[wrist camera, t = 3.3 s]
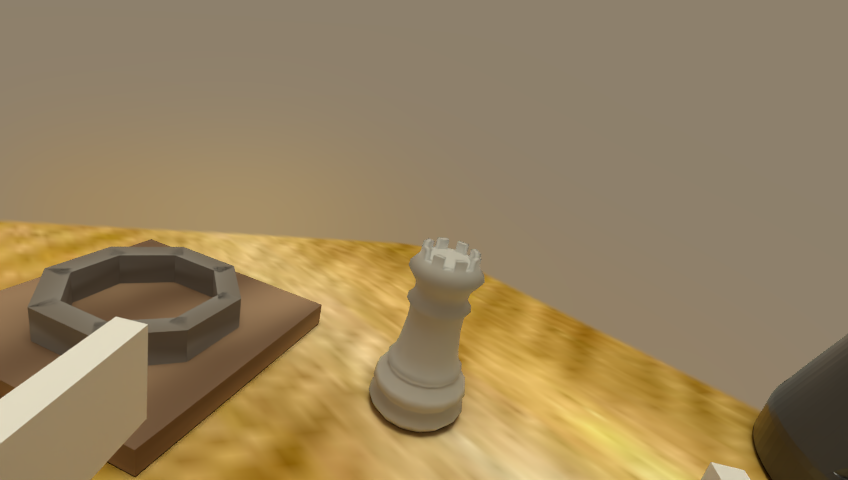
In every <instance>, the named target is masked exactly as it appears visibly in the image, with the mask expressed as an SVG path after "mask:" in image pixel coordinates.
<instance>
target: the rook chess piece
mask: <svg viewBox="0 0 848 480" xmlns="http://www.w3.org/2000/svg"><path fill="white" fill-rule="evenodd" d="M448 243H449V239H448V238H441V237H438V238H437V242H436V246H435V247H433V244H434V240H432V239H430V238H428V239H426V240H425V241H424V242H423V245H422V249H421V251H420V252H419V253H418V254H417V255H415V256H414V257H413V258H411V260H410V263H409V266H410V268H411V270H412V272H413V275H414V277H415V279H416V285H415V287H414V288H413V289H411V290H410V291H409V292H408V296H407V297H408V300H409V302H410V308H409V313H408V316H407V318H406V321H405V323H404V326H403V329H402V331H401V334H400V336H399V338H398V339H397V341H396V342H395V343H394V344H393V345H391V346H390V348H389V351H388V352H386V353H385V354H384V355H383V356H381V357H380V359H379V361H378V363H377V365H376V368H375V371H374V377H373V378H372V381H371V384H370V387H369V391H370V395H371V399H372V402H373V404H374V405H375V407H376V408H377V410H378V411H379V412H380V413H381V414H382V415H383V417H384V418H385V419H386V420H387V421H389V422H391V423H392V424H394V425H396V426H398V427H399V428H401V429H406V430H410V431H414V432H432V431H435V430H437V429H440V428H442V427H444V426H446V425H448V424H450V423H452V422H454V420H455V419H456V418H457V417H458V415H459V414H460V413H461V409H462V398H463V397H464V393H465V377H464V375H463V373H462V371H461V362H460V360H459V358H458V347H459V338H460V330H461V327H462V323H463V319H464V317H466V316H467V315H468V314H469V313H470V312H471V305H470V303H469V302H468V297H469V295H470V293H472V292H473V291H474V290H476V289H477V288H479V287H480V286H481V285H482V284H483V283H484V275H483V272H482V270H481V268H480V262H481V259H480V257H481V254H480V252H479V251H478V250H477V249H472V250H471V253H470V256H469V255H467V251H468V246H469V244H466V243H464V242H461V241H458V243H457V247H456V250H453V249H449V248H447V246H448Z"/></svg>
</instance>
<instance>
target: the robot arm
mask: <svg viewBox="0 0 848 480" xmlns="http://www.w3.org/2000/svg"><path fill="white" fill-rule="evenodd" d="M147 366H148V324H145V323H140V322H136V321H132V320H128V319H124V318H120V317H115V318H113V319H112V320H110V321H109V322H107V323H106V324H105V325H103V326H102V327H100V328H99V329H98V330H96V331H95V332H93V333H92V334H91V335H89V336H88V337H86V338H85V339H84V340H82V341H81V342H79V343H78V344H77V345H75V346H74V347H72V348H71V349H70V350H68V351H67V352H65V353H64V354H63V355H61V356H60V357H58V358H57V359H56V360H54V361H53V362H51V363H50V364H48V365H47V366H46V367H44V368H43V369H41V370H40V371H39V372H37V373H36V374H34V375H33V376H32V377H30V378H29V379H27V380H26V381H25V382H23V383H22V384H20V385H19V386H18V387H16V388H15V389H13V390H12V391H11V392H9V393H8V394H6V395H5V396H4V397H2V398H1V399H0V480H91V479H92V478H93V477H94V475H95V474H96V473H97V472H98V471H99V470H100V469H101V468H102V467H103V466H104V465H105V463H106V462H107V461H108V460H109V459H110V458H111V457H112V456H113V455H114V454H115V453H116V451H117V450H118V449H119V448H120V447H121V446H122V445H123V444H124V443H125V442H126V441H127V439H128V438H129V437H130V436H131V435H132V434H133V433H134V432H135V431H136V430H137V429H138V427H139V426H140V425H141V424H142V423H143V422H144V421H145V420H146V419H147ZM753 437H754V443H755V447H756V450H757V453H758V455H759V457H760V459H761V462H762V464H763V465H764V467H765V469H766V471H767V472H768V474H769V475H770V477H771V479H772V480H848V334H847V335H846V336H844V337H843V338H842V339H840V340H839V341H838V342H836V343H835V344H834V345H832V346H831V347H830V348H828V349H827V350H826V351H824V352H823V353H822V354H820V355H819V356H817V357H816V358H815V359H813V360H812V361H811V362H810V363H808V364H807V365H806V366H804V367H803V368H802V369H800V370H799V371H798V372H797V373H796V374H794V375H793V376H792V377H791V378H789V379H787V380H786V381H784V382H783V383H782V384H780V385H779V386H778V387H777V388H776V389H775V390H774V392H773V393H772V394H771V396H770V398H769V399H768V401H767V403H766V404H765V406H764V408H763V409H762V411H761V413H760V415H759V416H758V418H757V420H756V422H755V424H754V428H753ZM701 480H750V478H749V477H748V475H747V474H746V472H745V470H741V469H737V468H733V467H729V466H725V465H721V464H717V463H713V462H711V463H710V465H709V466H708V468H707V470H706V472H705V473H704V475H703V477H702V479H701Z"/></svg>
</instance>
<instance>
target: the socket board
mask: <svg viewBox="0 0 848 480" xmlns="http://www.w3.org/2000/svg"><path fill="white" fill-rule="evenodd" d="M320 312H321V304H318V303H316V302H313V301H310V300H308V299H305V298H302V297H300V296H297V295H295V294H292V293H289V292H287V291H284V290H282V289H279V288H276V287H274V286H271V285H269V284H266V283H263V282H261V281H258V280H256V279H253V278H250V277H248V276H245V275H243V274H240V273H237V272H235V269H234V266H232V265H229V264H226V263H224V262H221V261H219V260H216V259H213V258H211V257H208V256H205V255H203V254H200V253H198V252H195V251H192V250H190V249H187V248H184V247H170V246H167V245H165V244H162V243H159V242H157V241H154V240H152V239H151V240H148V241H145V242H142V243H139V244H136V245H133V246H130V247H109V248H106V249H103V250H100V251H97V252H94V253H91V254H88V255H85V256H82V257H79V258H75V259H72V260H69V261H66V262H63V263H60V264H57V265H54V266H51V267H48V268H45V269H44V271H43V274H42V276H41V277H39V278H36V279H33V280H30V281H27V282H24V283H21V284H19V285H16V286H13V287H10V288H7V289H4V290H1V291H0V399H1V398H2V397H4V396H5V395H6V394H8V393H9V392H11V391H12V390H13V389H15V388H16V387H18V386H19V385H20V384H22V383H23V382H25V381H26V380H27V379H29V378H30V377H32V376H33V375H34V374H36V373H37V372H39V371H40V370H41V369H43V368H44V367H46V366H47V365H48V364H50V363H51V362H53V361H54V360H56V359H57V358H58V357H60V356H61V355H63V354H64V353H65V352H67V351H68V350H70V349H71V348H72V347H74V346H75V345H77V344H78V343H79V342H81V341H82V340H84V339H85V338H86V337H88V336H89V335H91V334H92V333H93V332H95V331H96V330H98V329H99V328H100V327H102V326H103V325H105V324H106V323H107V322H109V321H110V320H112V319H113V318H115V317H120V318H124V319H128V320H132V321H136V322H140V323H145V324H148V366H147V419H146V420H145V421H144V422H143V423H142V424H141V425H140V426H139V427H138V429H137V430H136V431H135V432H134V433H133V434H132V435H131V436H130V437H129V438H128V439H127V441H126V442H125V443H124V444H123V445H122V446H121V447H120V448H119V449H118V450H117V451H116V453H115V454H114V455H113V456H112V457H111V458H110V459H109V460H108V461H107V462H109V463H111V464H113V465H114V466H116V467H118V468H120V469H122V470H124V471H126V472H127V473H129V474H131V475H133V476H136V475H138V474H139V473H140V472H141V471H142V470H144V469H145V468H146V467H147V466H148V465H150V464H151V463H152V462H153V461H154V460H156V459H157V458H158V457H159V456H160V455H162V454H163V453H164V452H165V451H166V450H167V449H169V448H170V447H171V446H172V445H173V444H175V443H176V442H177V441H178V440H179V439H181V438H182V437H183V436H184V435H185V434H187V433H188V432H189V431H190V430H191V429H193V428H194V427H195V426H196V425H197V424H199V423H200V422H201V421H202V420H203V419H205V418H206V417H207V416H208V415H209V414H211V413H212V412H213V411H214V410H215V409H217V408H218V407H219V406H220V405H221V404H223V403H224V402H225V401H226V400H227V399H229V398H230V397H231V396H232V395H233V394H235V393H236V392H237V391H238V390H239V389H241V388H242V387H243V386H244V385H245V384H247V383H248V382H249V381H250V380H251V379H253V378H254V377H255V376H256V375H257V374H259V373H260V372H261V371H262V370H263V369H265V368H266V367H267V366H268V365H269V364H271V363H272V362H273V361H274V360H275V359H277V358H278V357H279V356H280V355H281V354H282V353H284V352H285V351H286V350H287V349H288V348H290V347H291V346H292V345H293V344H294V343H296V342H297V341H298V340H299V339H300V338H302V337H303V336H304V335H305V334H306V333H308V332H309V331H310V330H311V329H312V328H314V327H315V326H316V325H317V324H318V323H319V319H320Z"/></svg>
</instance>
